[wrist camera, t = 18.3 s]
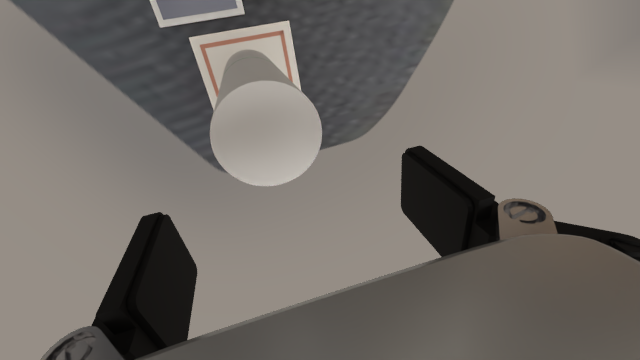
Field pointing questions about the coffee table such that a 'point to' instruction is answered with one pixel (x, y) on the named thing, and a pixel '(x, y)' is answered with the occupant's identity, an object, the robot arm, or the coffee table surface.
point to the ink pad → (194, 10)
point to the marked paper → (263, 38)
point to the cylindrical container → (263, 122)
